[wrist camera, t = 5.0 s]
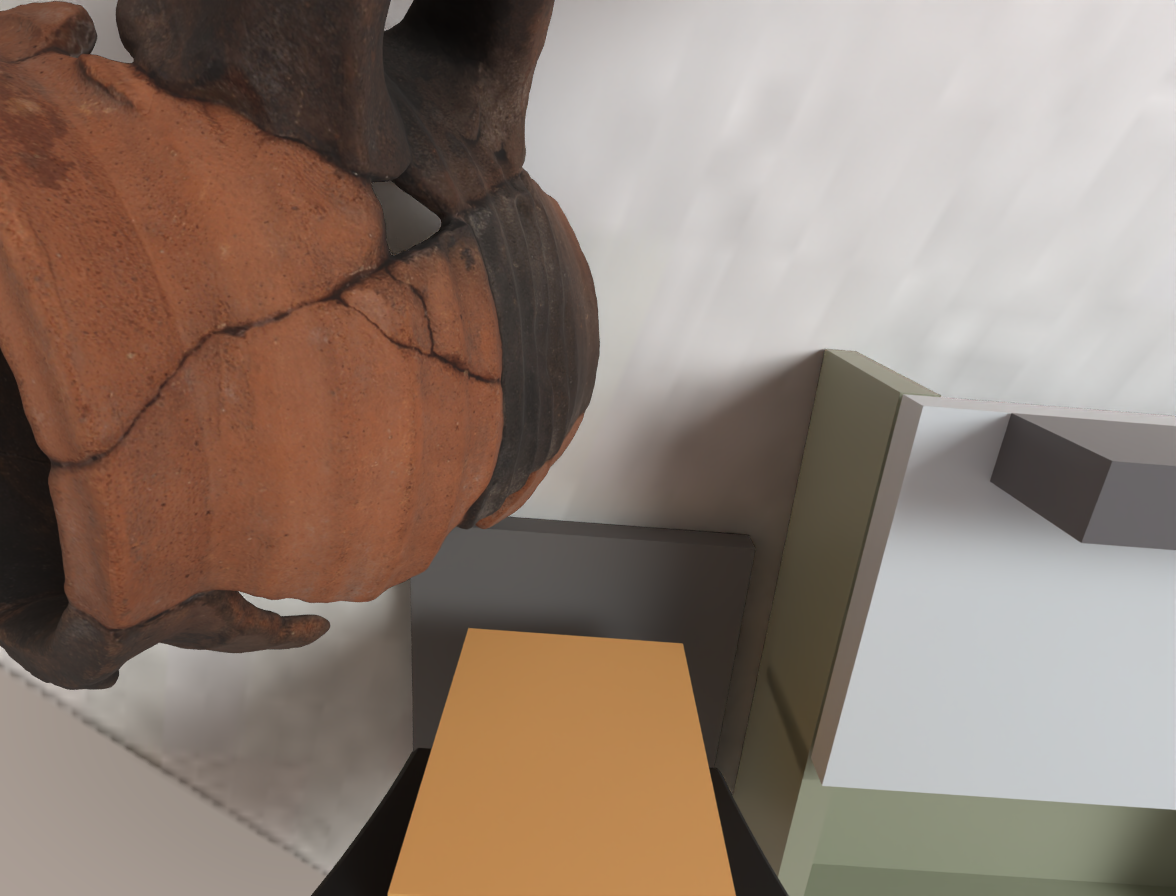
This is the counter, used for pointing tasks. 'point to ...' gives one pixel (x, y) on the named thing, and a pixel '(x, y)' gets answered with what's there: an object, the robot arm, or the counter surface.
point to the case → (798, 692)
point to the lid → (1013, 610)
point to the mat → (582, 600)
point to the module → (566, 776)
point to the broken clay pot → (266, 315)
